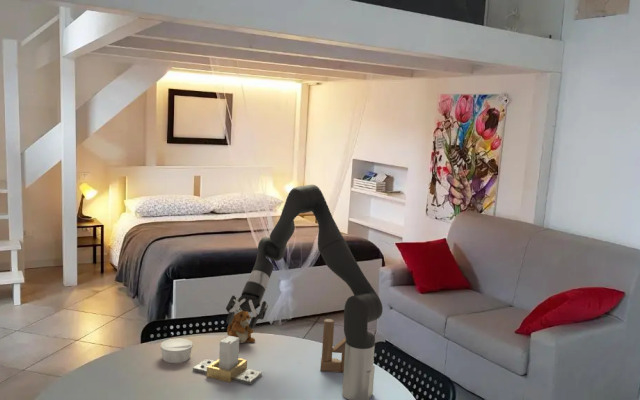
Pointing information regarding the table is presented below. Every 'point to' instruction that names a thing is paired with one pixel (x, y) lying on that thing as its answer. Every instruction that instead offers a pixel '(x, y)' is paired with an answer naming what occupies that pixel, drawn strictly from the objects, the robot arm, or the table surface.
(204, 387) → the table surface
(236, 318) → the stuffed squirrel
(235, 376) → the square socket fixture
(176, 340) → the ramekin
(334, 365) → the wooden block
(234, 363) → the skincare box
